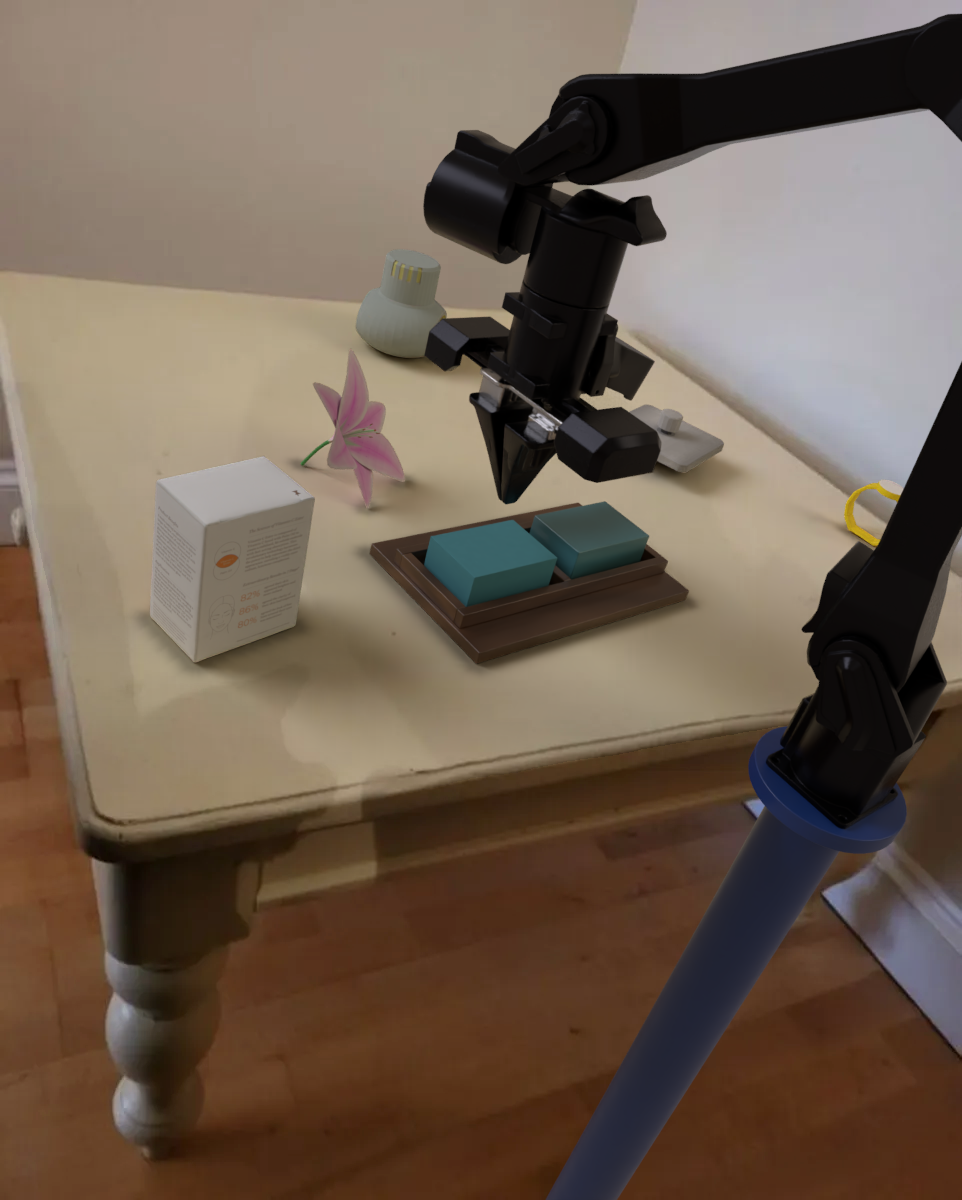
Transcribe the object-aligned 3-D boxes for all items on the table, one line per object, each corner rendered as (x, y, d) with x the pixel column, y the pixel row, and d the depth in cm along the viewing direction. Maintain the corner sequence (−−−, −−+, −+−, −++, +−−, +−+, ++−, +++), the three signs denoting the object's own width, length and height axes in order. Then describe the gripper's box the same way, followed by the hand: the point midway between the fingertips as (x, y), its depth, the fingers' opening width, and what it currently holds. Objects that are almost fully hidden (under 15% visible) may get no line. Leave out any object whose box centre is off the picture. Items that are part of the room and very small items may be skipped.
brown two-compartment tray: (685, 600, 84) (702, 560, 81) (476, 664, 70) (489, 618, 68) (575, 511, 92) (588, 472, 89) (369, 553, 78) (377, 509, 76)
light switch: (676, 491, 100) (694, 445, 97) (593, 447, 103) (608, 402, 101) (717, 465, 107) (735, 422, 104) (638, 425, 111) (653, 383, 108)
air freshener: (375, 322, 118) (390, 235, 112) (443, 342, 117) (462, 256, 112) (346, 353, 108) (361, 260, 103) (420, 375, 108) (439, 283, 103)
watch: (831, 525, 101) (857, 473, 98) (843, 519, 103) (869, 468, 100) (885, 557, 99) (913, 504, 95) (896, 549, 100) (925, 498, 97)
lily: (293, 532, 80) (370, 454, 76) (229, 416, 84) (299, 335, 79) (388, 533, 90) (460, 465, 86) (328, 429, 94) (394, 359, 89)
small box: (250, 584, 72) (266, 453, 66) (297, 628, 69) (318, 495, 63) (145, 616, 66) (153, 476, 60) (192, 666, 64) (205, 524, 58)
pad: (547, 590, 78) (557, 557, 76) (465, 611, 73) (474, 577, 72) (503, 551, 81) (513, 519, 80) (422, 569, 77) (430, 536, 75)
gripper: (754, 347, 64) (671, 552, 73) (564, 238, 75) (512, 428, 84) (632, 357, 58) (557, 581, 66) (443, 236, 68) (400, 443, 77)
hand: (507, 501), depth 73 cm, fingers closed
